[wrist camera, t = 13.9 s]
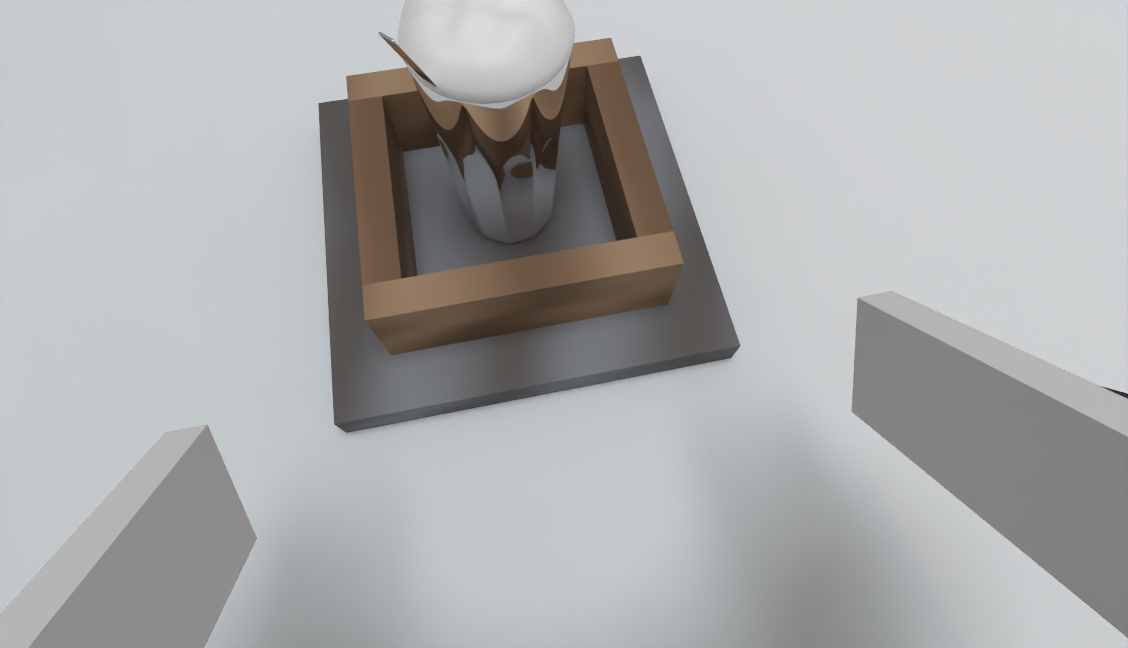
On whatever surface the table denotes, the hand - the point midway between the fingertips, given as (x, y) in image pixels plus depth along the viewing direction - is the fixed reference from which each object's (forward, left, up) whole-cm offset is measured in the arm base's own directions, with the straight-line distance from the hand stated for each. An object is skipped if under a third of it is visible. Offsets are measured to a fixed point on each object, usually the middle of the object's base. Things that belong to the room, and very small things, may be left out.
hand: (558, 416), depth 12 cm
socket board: (0, +10, -9) cm, 13 cm away
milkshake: (0, +10, -7) cm, 12 cm away
